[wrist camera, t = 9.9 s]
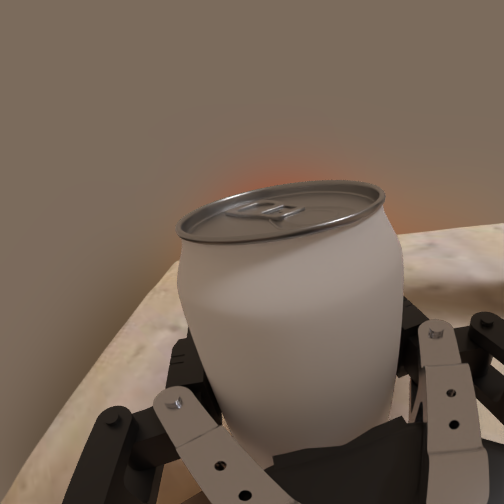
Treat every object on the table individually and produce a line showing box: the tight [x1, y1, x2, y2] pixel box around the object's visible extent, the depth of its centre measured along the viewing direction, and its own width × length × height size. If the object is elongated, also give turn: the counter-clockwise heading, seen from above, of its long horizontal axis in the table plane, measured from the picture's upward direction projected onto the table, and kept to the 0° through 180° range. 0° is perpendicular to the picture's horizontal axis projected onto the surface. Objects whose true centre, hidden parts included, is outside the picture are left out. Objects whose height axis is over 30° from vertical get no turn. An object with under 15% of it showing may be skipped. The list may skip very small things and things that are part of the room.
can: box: [175, 180, 404, 470], centre depth 10 cm, size 6×6×12 cm
